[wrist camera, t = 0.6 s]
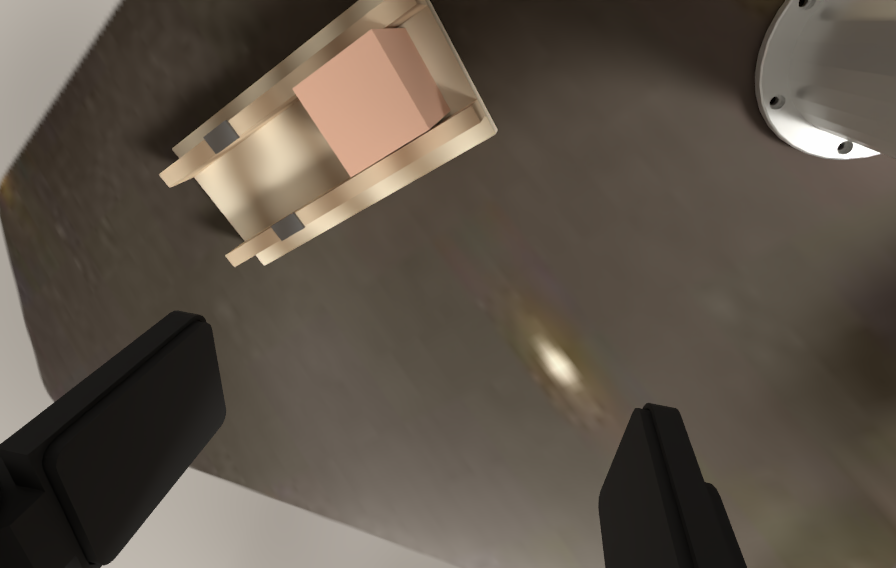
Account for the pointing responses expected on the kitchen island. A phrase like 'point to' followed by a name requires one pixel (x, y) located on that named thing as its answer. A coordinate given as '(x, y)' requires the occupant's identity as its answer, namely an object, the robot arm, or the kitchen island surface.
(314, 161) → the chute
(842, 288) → the kitchen island surface
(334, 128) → the block
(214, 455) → the kitchen island surface
